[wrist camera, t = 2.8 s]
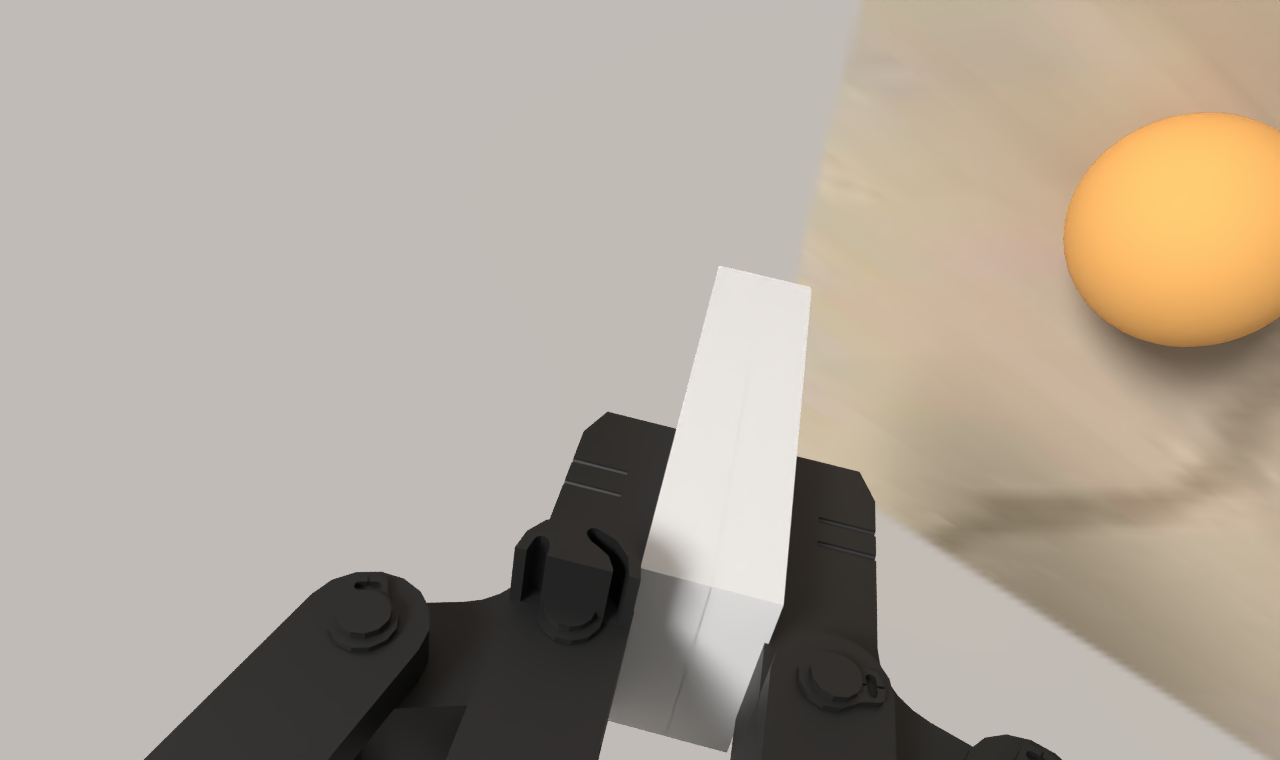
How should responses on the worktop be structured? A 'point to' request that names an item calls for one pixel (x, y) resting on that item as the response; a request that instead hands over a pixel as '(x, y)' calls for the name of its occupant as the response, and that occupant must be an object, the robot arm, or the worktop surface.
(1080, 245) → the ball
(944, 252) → the worktop surface
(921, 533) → the worktop surface
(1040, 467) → the worktop surface
